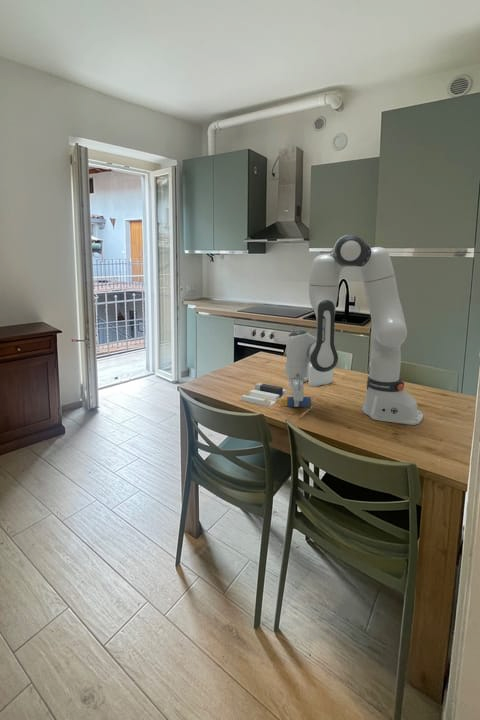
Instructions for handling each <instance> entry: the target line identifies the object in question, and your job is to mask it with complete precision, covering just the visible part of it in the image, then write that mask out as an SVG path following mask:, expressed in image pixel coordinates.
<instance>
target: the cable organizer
mask: <svg viewBox="0 0 480 720" xmlns="http://www.w3.org/2000/svg"><path fill="white" fill-rule="evenodd" d="M334 368H335V367H334ZM334 368H333V369H332V370H330V371H327V372H320V371H317V370H316V369H314V368H313V366H312V364H311V362H309V363H308V376H307V377H305V378H304V380H303V383H305V382H307V381H308V382H307V383H308V386H310V387H313V388H315V387H319V386H321V385H322V386H323V385H324V386H326V385H329V384H330V383H332V382H333V379H334Z"/></svg>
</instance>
